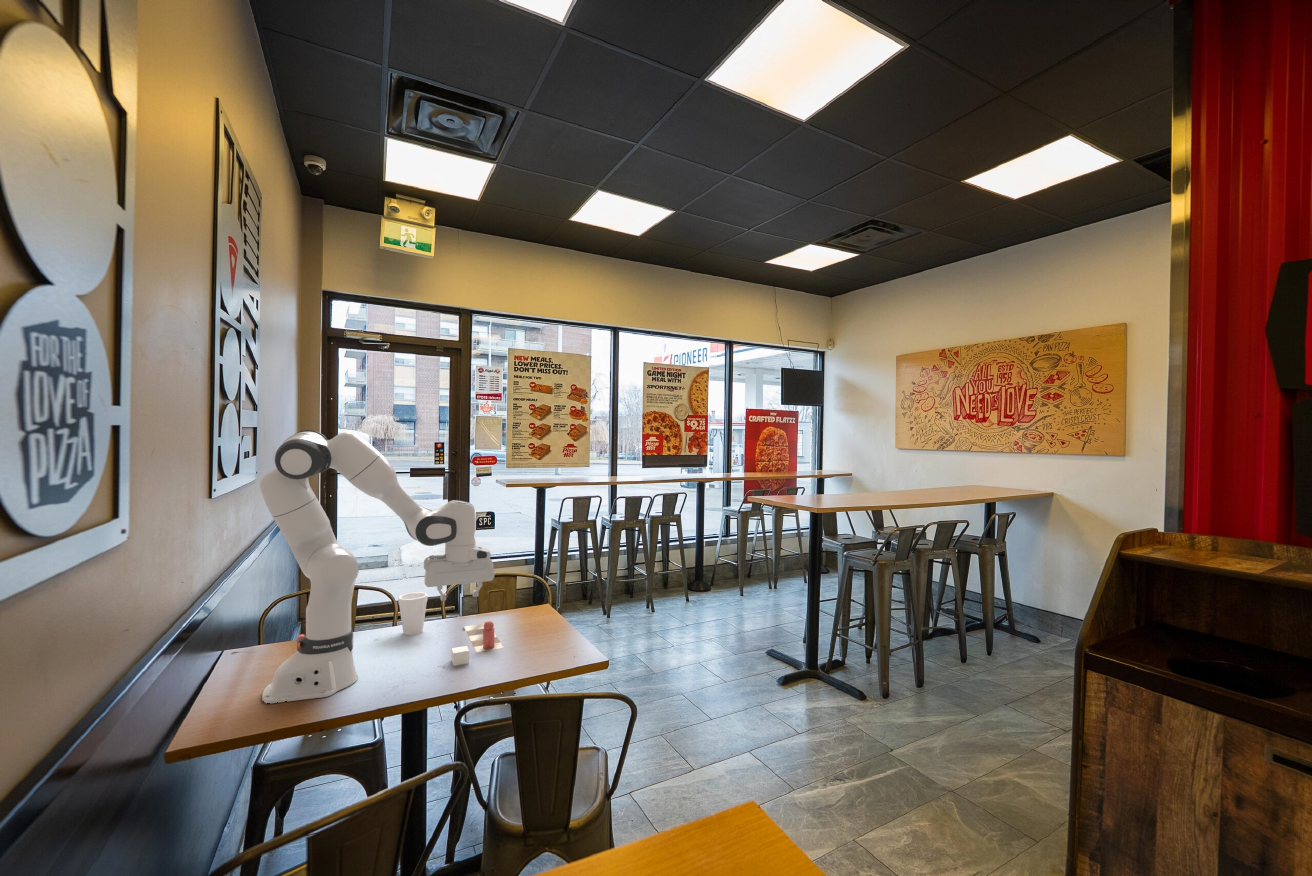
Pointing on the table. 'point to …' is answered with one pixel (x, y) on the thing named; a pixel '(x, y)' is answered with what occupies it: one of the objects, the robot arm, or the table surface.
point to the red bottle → (488, 635)
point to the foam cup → (412, 612)
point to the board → (480, 637)
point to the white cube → (460, 655)
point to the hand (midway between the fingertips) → (459, 598)
